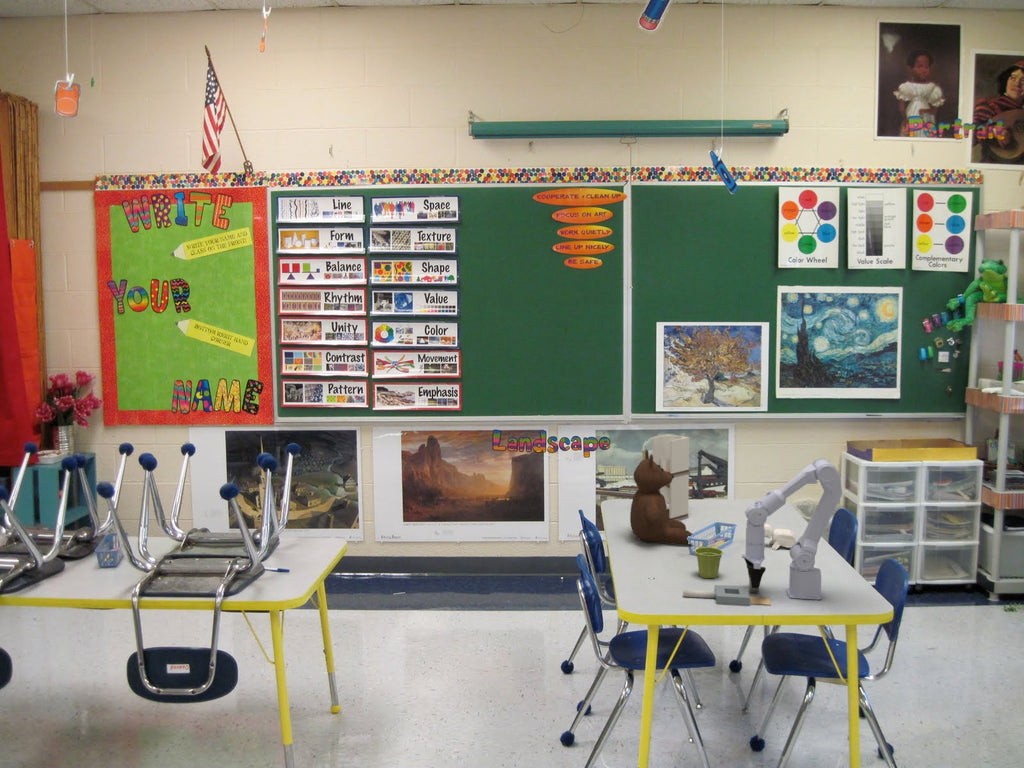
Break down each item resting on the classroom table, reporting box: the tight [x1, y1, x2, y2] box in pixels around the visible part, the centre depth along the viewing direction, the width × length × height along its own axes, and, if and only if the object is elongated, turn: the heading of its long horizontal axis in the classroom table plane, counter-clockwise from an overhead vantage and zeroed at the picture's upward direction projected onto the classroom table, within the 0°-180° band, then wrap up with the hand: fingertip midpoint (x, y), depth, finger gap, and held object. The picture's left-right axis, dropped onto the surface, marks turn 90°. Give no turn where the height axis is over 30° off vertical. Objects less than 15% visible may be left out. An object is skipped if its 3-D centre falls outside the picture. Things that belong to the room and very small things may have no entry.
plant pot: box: [694, 546, 724, 579], centre depth 285 cm, size 9×9×9 cm
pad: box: [749, 595, 772, 607], centre depth 262 cm, size 6×6×1 cm
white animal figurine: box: [764, 523, 799, 551], centre depth 317 cm, size 9×8×15 cm
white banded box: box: [651, 433, 690, 522], centre depth 356 cm, size 11×11×35 cm
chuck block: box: [682, 584, 751, 607], centre depth 265 cm, size 20×10×2 cm, turn 80°
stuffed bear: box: [629, 449, 694, 546], centre depth 325 cm, size 29×23×35 cm
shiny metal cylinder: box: [748, 574, 760, 595], centre depth 269 cm, size 3×3×8 cm
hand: (754, 583), depth 269 cm, fingers open, 7 cm apart
